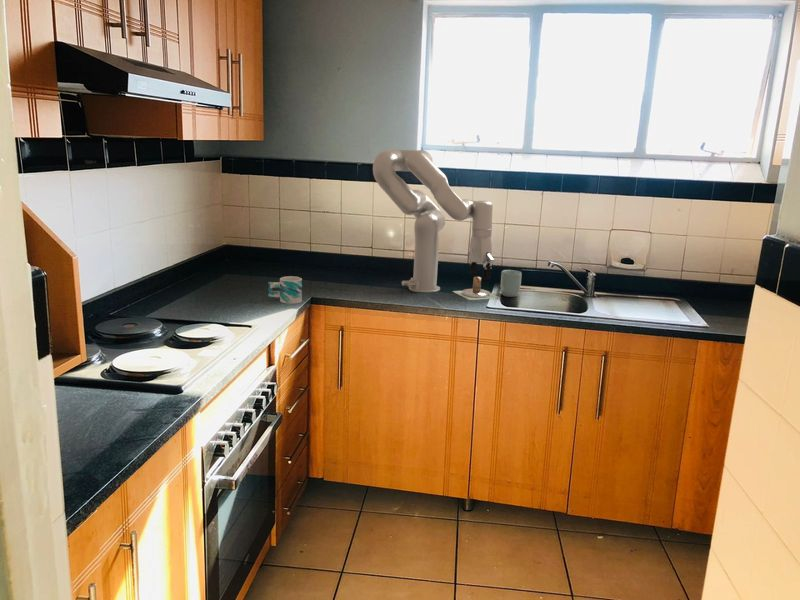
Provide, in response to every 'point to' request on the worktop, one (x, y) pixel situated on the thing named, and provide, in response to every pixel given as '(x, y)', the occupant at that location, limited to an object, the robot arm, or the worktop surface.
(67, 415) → the worktop surface
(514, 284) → the cup
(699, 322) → the worktop surface
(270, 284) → the mug
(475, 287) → the lid
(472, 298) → the mat
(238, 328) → the worktop surface
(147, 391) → the worktop surface
